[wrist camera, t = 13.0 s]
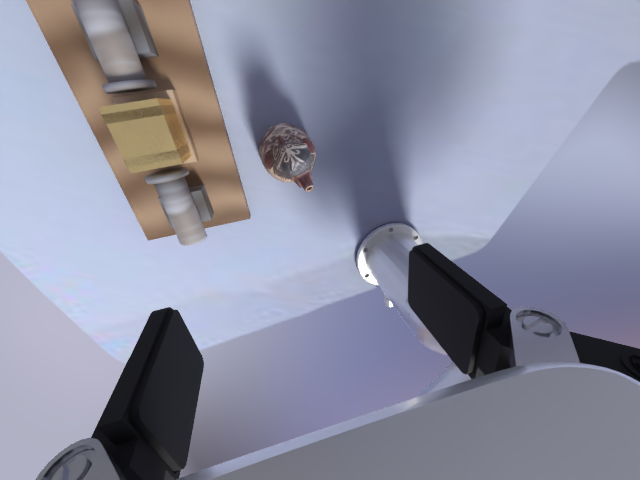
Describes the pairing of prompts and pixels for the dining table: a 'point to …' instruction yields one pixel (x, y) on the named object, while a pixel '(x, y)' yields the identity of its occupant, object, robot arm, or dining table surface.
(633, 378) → the robot arm
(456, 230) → the dining table surface
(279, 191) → the dining table surface
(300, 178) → the figurine
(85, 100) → the shaft jig
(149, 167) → the block
